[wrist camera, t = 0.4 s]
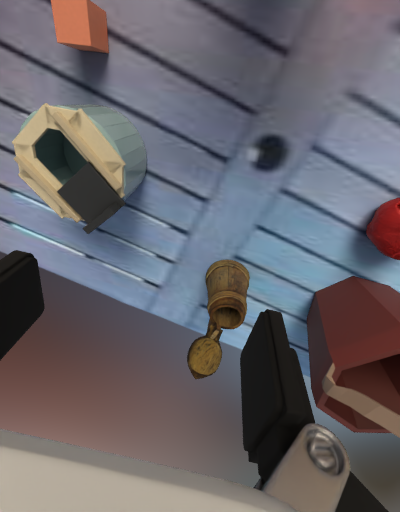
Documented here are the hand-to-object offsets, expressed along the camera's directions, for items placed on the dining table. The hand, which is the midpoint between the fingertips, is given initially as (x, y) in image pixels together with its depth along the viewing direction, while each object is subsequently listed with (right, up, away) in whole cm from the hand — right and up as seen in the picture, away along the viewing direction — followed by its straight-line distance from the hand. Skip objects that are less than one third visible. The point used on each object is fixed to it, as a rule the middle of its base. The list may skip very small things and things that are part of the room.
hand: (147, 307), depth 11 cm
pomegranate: (+35, +8, +32) cm, 48 cm away
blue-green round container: (-14, +19, +31) cm, 39 cm away
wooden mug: (+7, -4, +43) cm, 44 cm away
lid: (-15, +14, +23) cm, 30 cm away
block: (-12, +32, +23) cm, 41 cm away
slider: (-12, +10, +24) cm, 28 cm away
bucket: (+34, -8, +42) cm, 55 cm away
